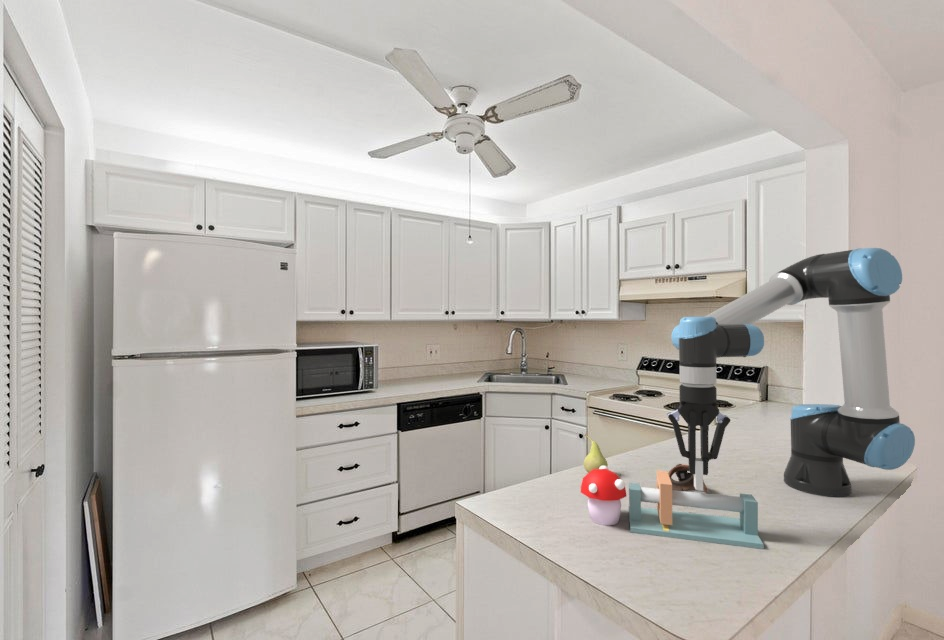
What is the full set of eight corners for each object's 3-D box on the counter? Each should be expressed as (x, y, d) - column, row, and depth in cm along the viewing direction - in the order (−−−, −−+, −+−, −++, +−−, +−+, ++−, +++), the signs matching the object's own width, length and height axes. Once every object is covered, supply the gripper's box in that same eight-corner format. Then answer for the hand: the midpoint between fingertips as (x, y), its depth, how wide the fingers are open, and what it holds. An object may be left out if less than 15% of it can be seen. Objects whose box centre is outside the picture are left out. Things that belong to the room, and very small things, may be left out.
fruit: (599, 481, 132) (599, 440, 132) (577, 474, 138) (577, 435, 138) (611, 475, 137) (611, 436, 136) (590, 469, 142) (590, 431, 142)
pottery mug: (716, 500, 119) (705, 476, 118) (682, 514, 121) (670, 490, 119) (696, 473, 131) (685, 451, 129) (665, 486, 132) (654, 464, 131)
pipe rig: (746, 523, 105) (746, 488, 105) (763, 549, 93) (763, 509, 93) (628, 509, 113) (628, 477, 112) (630, 532, 101) (630, 495, 101)
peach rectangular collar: (667, 508, 108) (667, 471, 108) (672, 525, 100) (672, 484, 100) (656, 507, 109) (656, 470, 109) (660, 523, 101) (660, 483, 101)
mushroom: (620, 534, 100) (620, 480, 100) (573, 522, 106) (573, 471, 106) (631, 515, 109) (631, 466, 109) (587, 506, 115) (587, 459, 115)
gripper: (726, 383, 104) (726, 485, 104) (664, 381, 108) (665, 479, 108) (734, 388, 97) (735, 497, 97) (668, 386, 101) (669, 491, 101)
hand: (698, 488), depth 102 cm, fingers closed
